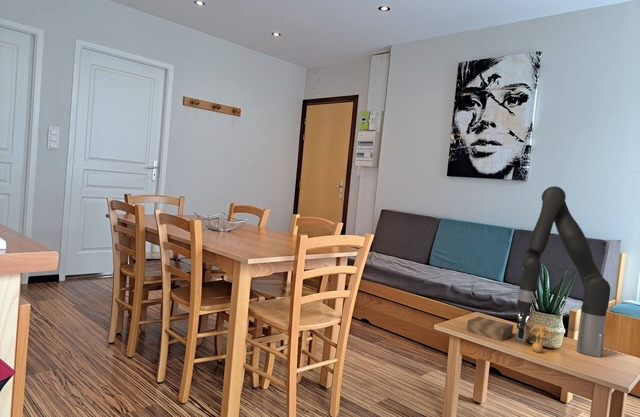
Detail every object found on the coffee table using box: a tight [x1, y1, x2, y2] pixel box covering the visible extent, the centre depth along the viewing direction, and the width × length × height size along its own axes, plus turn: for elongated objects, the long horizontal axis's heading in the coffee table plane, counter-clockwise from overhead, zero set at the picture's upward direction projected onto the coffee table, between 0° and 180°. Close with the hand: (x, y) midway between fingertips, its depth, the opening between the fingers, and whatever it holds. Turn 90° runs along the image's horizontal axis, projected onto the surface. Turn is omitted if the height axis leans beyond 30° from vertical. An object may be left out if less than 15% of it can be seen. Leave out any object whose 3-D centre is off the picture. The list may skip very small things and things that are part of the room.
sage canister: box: [515, 325, 526, 342], centre depth 203 cm, size 5×5×7 cm
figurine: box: [529, 322, 552, 353], centre depth 187 cm, size 8×6×12 cm
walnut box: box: [466, 316, 514, 342], centre depth 208 cm, size 16×14×5 cm
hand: (522, 337), depth 203 cm, fingers closed on sage canister, 5 cm apart
